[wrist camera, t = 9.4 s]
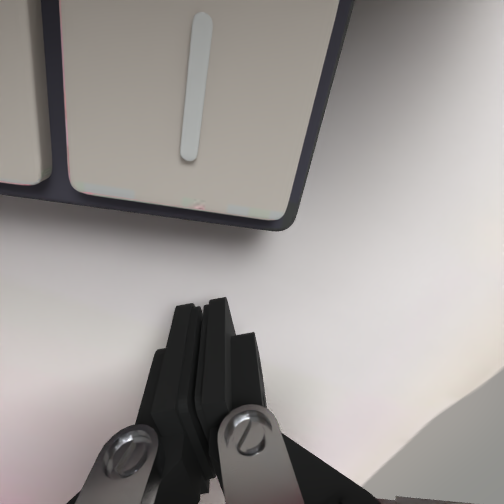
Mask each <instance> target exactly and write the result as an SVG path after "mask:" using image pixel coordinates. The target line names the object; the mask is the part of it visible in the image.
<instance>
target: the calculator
mask: <svg viewBox="0 0 504 504" xmlns="http://www.w3.org/2000/svg"><path fill="white" fill-rule="evenodd" d="M354 2H355V0H0V194H2V195H9V196H16V197H24V198H31V199H39V200H46V201H53V202H61V203H68V204H75V205H83V206H90V207H98V208H105V209H112V210H120V211H127V212H134V213H142V214H149V215H157V216H164V217H171V218H179V219H186V220H193V221H201V222H208V223H216V224H223V225H230V226H238V227H245V228H252V229H260V230H268V231H283V230H285V229H287V228H289V227H290V226H291V225H292V224H293V222H294V220H295V218H296V215H297V212H298V208H299V205H300V201H301V197H302V194H303V190H304V186H305V183H306V179H307V175H308V172H309V168H310V164H311V160H312V157H313V153H314V149H315V146H316V142H317V138H318V135H319V131H320V127H321V123H322V120H323V116H324V112H325V109H326V105H327V101H328V98H329V94H330V90H331V87H332V83H333V79H334V75H335V72H336V68H337V64H338V61H339V57H340V53H341V50H342V46H343V42H344V39H345V35H346V31H347V27H348V24H349V20H350V16H351V13H352V9H353V5H354Z"/></svg>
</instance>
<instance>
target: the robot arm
mask: <svg viewBox="0 0 504 504" xmlns="http://www.w3.org/2000/svg"><path fill="white" fill-rule="evenodd" d="M216 475H217V478H218V480H219V483H220V486H221V488H222V491H223V494H224V496H225V502H226V504H472V503H462V502H451V501H442V500H431V499H421V498H411V497H399V496H396V497H395V500H387V499H377V498H375V497H373V495H371V494H370V493H369V492H368V491H366V490H365V489H363V488H362V487H360V486H359V485H357V484H356V483H354V482H353V481H352V480H350V479H349V478H347V477H346V476H344V475H343V474H341V473H340V472H338V471H337V470H335V469H334V468H332V467H331V466H330V465H328V464H327V463H325V462H324V461H322V460H321V459H319V458H318V457H316V456H315V455H313V454H312V453H310V452H309V451H307V450H306V449H305V448H303V447H302V446H300V445H299V444H297V443H296V442H294V441H293V440H291V439H290V438H288V437H287V436H285V435H284V434H282V433H281V431H280V428H279V425H278V422H277V420H276V418H275V416H274V414H273V413H272V412H270V411H269V410H268V409H267V406H266V398H265V391H264V383H263V375H262V369H261V362H260V357H259V351H258V346H257V342H256V337H255V333H254V332H252V333H247V334H241V335H236V334H235V330H234V326H233V322H232V318H231V314H230V310H229V305H228V301H227V298H226V297H223V298H218V299H212V300H210V301H209V305H204V310H203V313H202V310H201V307H200V306H198V307H195V305H194V304H193V303H190V304H185V305H179V306H176V308H175V312H174V316H173V320H172V325H171V329H170V333H169V337H168V341H167V346H166V348H164V349H158V350H157V351H156V352H155V355H154V358H153V362H152V365H151V369H150V373H149V376H148V380H147V384H146V387H145V391H144V394H143V398H142V402H141V405H140V409H139V413H138V416H137V420H136V424H135V425H131V426H129V427H126V428H124V429H122V430H120V431H119V432H118V433H116V434H115V435H114V436H112V437H111V439H110V440H109V441H108V442H107V443H106V444H105V445H104V447H103V448H102V450H101V452H100V453H99V455H98V457H97V459H96V461H95V463H94V465H93V467H92V469H91V471H90V473H89V475H88V478H87V480H86V482H85V484H84V486H83V488H82V490H81V491H80V492H79V493H77V494H76V495H75V496H74V497H73V498H72V499H71V500H70V501H69V502H68V503H67V504H198V503H199V501H200V494H204V493H209V481H210V479H212V478H215V477H216Z"/></svg>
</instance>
